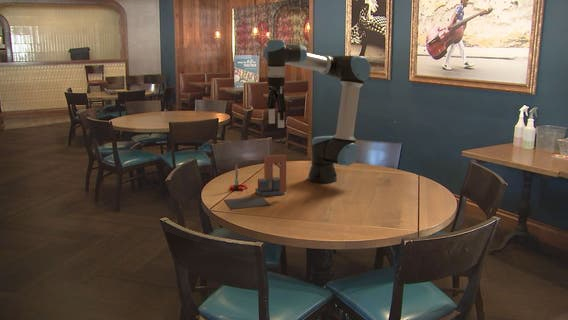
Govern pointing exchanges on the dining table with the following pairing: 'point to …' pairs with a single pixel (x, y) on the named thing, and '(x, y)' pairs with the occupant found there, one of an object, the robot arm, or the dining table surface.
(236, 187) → the tow hook
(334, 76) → the robot arm
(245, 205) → the mat
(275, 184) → the toilet paper holder
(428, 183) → the dining table surface
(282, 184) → the reddish-brown c-shaped bracket
